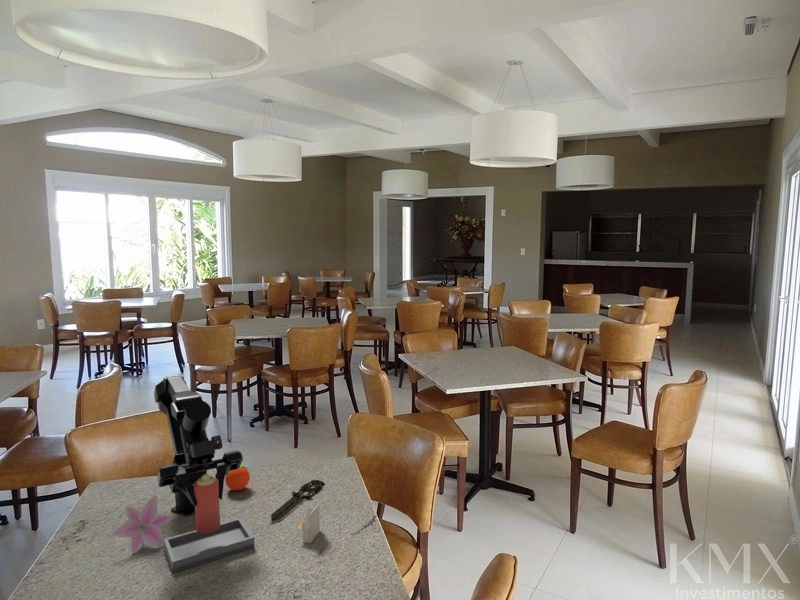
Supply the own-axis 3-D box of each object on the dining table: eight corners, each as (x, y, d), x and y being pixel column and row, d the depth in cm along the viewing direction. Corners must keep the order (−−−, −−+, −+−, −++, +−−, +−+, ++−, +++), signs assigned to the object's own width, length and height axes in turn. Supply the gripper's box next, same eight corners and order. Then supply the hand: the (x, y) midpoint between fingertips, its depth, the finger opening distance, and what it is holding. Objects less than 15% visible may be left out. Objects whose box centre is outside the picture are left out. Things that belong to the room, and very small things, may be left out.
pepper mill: (190, 530, 126) (188, 476, 125) (208, 519, 131) (206, 467, 129) (207, 535, 124) (205, 481, 122) (225, 524, 128) (223, 472, 127)
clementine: (246, 480, 164) (245, 458, 163) (257, 488, 158) (256, 464, 158) (221, 489, 158) (220, 465, 157) (232, 497, 153) (230, 473, 152)
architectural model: (297, 543, 130) (296, 513, 130) (309, 528, 137) (308, 500, 136) (310, 545, 130) (309, 515, 129) (322, 530, 136) (321, 501, 135)
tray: (164, 549, 127) (163, 539, 127) (240, 526, 137) (240, 517, 137) (173, 573, 118) (172, 562, 118) (254, 547, 128) (254, 537, 128)
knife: (275, 527, 138) (275, 522, 138) (255, 522, 141) (255, 516, 140) (330, 486, 160) (330, 482, 160) (312, 482, 163) (311, 478, 163)
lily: (104, 557, 126) (108, 531, 122) (125, 515, 136) (129, 490, 132) (157, 567, 128) (163, 542, 124) (174, 525, 139) (180, 500, 134)
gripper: (156, 433, 123) (168, 499, 115) (239, 418, 133) (255, 478, 125) (153, 455, 130) (163, 518, 122) (231, 439, 140) (246, 497, 132)
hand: (208, 502), depth 125 cm, fingers closed on pepper mill, 5 cm apart
